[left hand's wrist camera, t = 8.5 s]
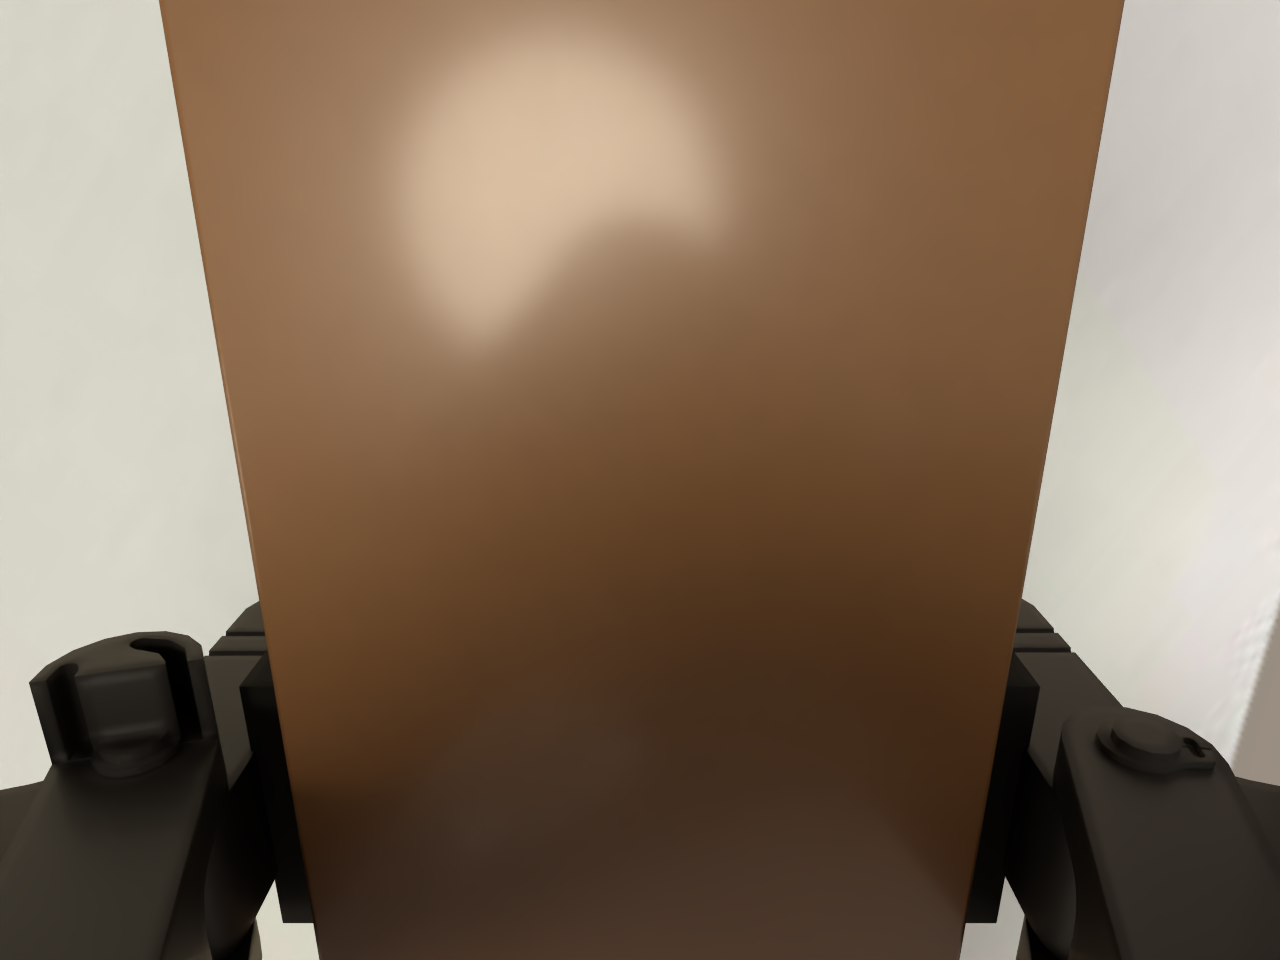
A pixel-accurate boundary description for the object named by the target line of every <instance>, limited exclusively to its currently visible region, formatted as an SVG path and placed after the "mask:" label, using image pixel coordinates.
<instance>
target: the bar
mask: <svg viewBox="0 0 1280 960" xmlns="http://www.w3.org/2000/svg"><path fill="white" fill-rule="evenodd" d="M159 4H160V10H161V16H162V22H163V27H164V33H165V39H166V45H167V51H168V57H169V63H170V69H171V75H172V81H173V87H174V93H175V99H176V105H177V111H178V117H179V123H180V129H181V135H182V141H183V147H184V153H185V159H186V165H187V171H188V177H189V183H190V189H191V195H192V201H193V207H194V213H195V219H196V225H197V231H198V237H199V243H200V249H201V255H202V260H203V266H204V272H205V278H206V284H207V290H208V296H209V302H210V308H211V314H212V320H213V326H214V332H215V338H216V344H217V350H218V356H219V362H220V368H221V374H222V380H223V386H224V392H225V398H226V404H227V410H228V416H229V422H230V428H231V434H232V440H233V446H234V452H235V458H236V464H237V470H238V476H239V482H240V488H241V493H242V499H243V505H244V511H245V517H246V523H247V529H248V535H249V541H250V547H251V553H252V559H253V565H254V571H255V577H256V583H257V589H258V595H259V601H260V607H261V613H262V619H263V625H264V631H265V637H266V643H267V649H268V655H269V661H270V667H271V673H272V679H273V685H274V691H275V697H276V703H277V709H278V715H279V721H280V726H281V732H282V738H283V744H284V750H285V756H286V762H287V768H288V774H289V780H290V786H291V792H292V798H293V804H294V810H295V816H296V822H297V828H298V834H299V840H300V846H301V852H302V858H303V864H304V870H305V876H306V882H307V888H308V894H309V900H310V906H311V912H312V918H313V924H314V930H315V936H316V942H317V948H318V954H319V959H320V960H959V959H960V953H961V947H962V941H963V935H964V930H965V924H966V918H967V912H968V906H969V901H970V895H971V889H972V883H973V877H974V872H975V866H976V860H977V854H978V848H979V843H980V837H981V831H982V825H983V819H984V813H985V808H986V802H987V796H988V790H989V784H990V779H991V773H992V767H993V761H994V755H995V750H996V744H997V738H998V732H999V726H1000V721H1001V715H1002V709H1003V703H1004V697H1005V692H1006V686H1007V680H1008V674H1009V668H1010V663H1011V657H1012V651H1013V645H1014V639H1015V633H1016V628H1017V622H1018V616H1019V610H1020V604H1021V599H1022V593H1023V587H1024V581H1025V575H1026V570H1027V564H1028V558H1029V552H1030V546H1031V541H1032V535H1033V529H1034V523H1035V517H1036V512H1037V506H1038V500H1039V494H1040V488H1041V482H1042V477H1043V471H1044V465H1045V459H1046V453H1047V448H1048V442H1049V436H1050V430H1051V424H1052V419H1053V413H1054V407H1055V401H1056V395H1057V390H1058V384H1059V378H1060V372H1061V366H1062V361H1063V355H1064V349H1065V343H1066V337H1067V331H1068V326H1069V320H1070V314H1071V308H1072V302H1073V297H1074V291H1075V285H1076V279H1077V273H1078V268H1079V262H1080V256H1081V250H1082V244H1083V239H1084V233H1085V227H1086V221H1087V215H1088V210H1089V204H1090V198H1091V192H1092V186H1093V180H1094V175H1095V169H1096V163H1097V157H1098V151H1099V146H1100V140H1101V134H1102V128H1103V122H1104V117H1105V111H1106V105H1107V99H1108V93H1109V88H1110V82H1111V76H1112V70H1113V64H1114V59H1115V53H1116V47H1117V41H1118V35H1119V30H1120V24H1121V18H1122V12H1123V6H1124V0H159Z"/></svg>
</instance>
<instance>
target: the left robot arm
mask: <svg viewBox="0 0 1280 960" xmlns="http://www.w3.org/2000/svg"><path fill="white" fill-rule="evenodd" d="M29 685H30V688H31V692H32V695H33V699H34V702H35V706H36V709H37V713H38V716H39V720H40V723H41V727H42V730H43V734H44V737H45V741H46V744H47V748H48V751H49V755H50V758H51V762H52V766H51V768H50V770H49V771H48V773H47V775H46V777H45V779H44V781H41V782H37V783H33V784H29V785H24V786H19V787H14V788H9V789H4V790H0V960H262V951H261V943H260V936H259V931H258V926H257V921H256V915H257V913H258V911H259V909H260V907H261V905H262V903H263V902H264V900H265V898H266V896H267V894H268V892H269V890H270V888H271V886H272V884H273V882H274V880H275V883H276V888H277V893H278V899H279V904H280V909H281V915H282V920H283V923H313V918H312V912H311V906H310V900H309V894H308V888H307V882H306V876H305V870H304V864H303V858H302V852H301V846H300V840H299V834H298V828H297V822H296V816H295V810H294V804H293V798H292V792H291V786H290V780H289V774H288V768H287V762H286V756H285V750H284V744H283V738H282V732H281V726H280V721H279V715H278V709H277V703H276V697H275V691H274V685H273V679H272V673H271V667H270V661H269V655H268V649H267V643H266V637H265V631H264V625H263V619H262V613H261V607H260V601H258V602H257V603H255V604H253V605H252V606H250V607H248V608H247V609H245V611H244V612H243V613H242V614H241V615H240V616H239V617H238V619H237V620H236V621H235V622H234V623H233V624H232V625H231V627H230V628H229V629H228V630H227V631H226V636H222V637H221V638H220V639H219V640H218V641H217V643H216V644H215V645H214V646H213V647H212V648H211V649H210V651H209V656H203V651H202V647H201V645H200V644H199V643H198V642H196V641H195V640H194V639H192V638H191V637H190V636H188V635H183V634H177V633H172V632H167V631H160V632H137V633H132V634H127V635H122V636H117V637H112V638H107V639H103V640H101V641H98V642H95V643H92V644H90V645H87V646H84V647H81V648H79V649H76V650H73V651H71V652H69V653H68V654H66V655H64V656H62V657H61V658H59V659H57V660H55V661H54V662H52V663H50V664H48V665H47V666H45V667H44V668H43V669H42V670H41V671H40V672H39V673H38V674H37V675H36V676H35V677H34V678H33V679H32V680H31V681H30V682H29ZM1005 877H1006V879H1007V881H1008V882H1009V884H1010V886H1011V888H1012V890H1013V892H1014V894H1015V896H1016V898H1017V900H1018V902H1019V904H1020V906H1021V908H1022V910H1023V912H1024V914H1025V916H1024V921H1023V926H1022V931H1021V936H1020V941H1019V946H1018V951H1017V956H1016V960H1280V786H1276V785H1271V784H1266V783H1261V782H1256V781H1251V780H1247V779H1243V778H1239V777H1235V775H1234V774H1233V772H1232V770H1231V768H1230V766H1229V764H1228V763H1227V762H1226V760H1225V759H1224V758H1223V757H1222V756H1221V754H1220V753H1219V752H1218V751H1217V750H1216V749H1215V747H1214V746H1213V745H1212V744H1210V743H1209V742H1208V741H1206V740H1205V739H1203V738H1202V737H1200V736H1199V735H1197V734H1196V733H1194V732H1193V731H1191V730H1190V729H1188V728H1186V727H1184V726H1182V725H1179V724H1177V723H1175V722H1172V721H1170V720H1168V719H1165V718H1163V717H1161V716H1158V715H1155V714H1151V713H1147V712H1143V711H1139V710H1135V709H1130V708H1126V707H1123V706H1122V705H1121V704H1120V703H1119V702H1118V701H1117V700H1116V698H1115V697H1114V696H1113V695H1112V694H1111V693H1110V692H1109V690H1108V689H1107V688H1106V687H1105V686H1104V685H1103V684H1102V683H1101V681H1100V680H1099V679H1098V678H1097V677H1096V676H1095V675H1094V673H1093V672H1092V671H1091V670H1090V669H1089V668H1088V667H1087V666H1086V664H1085V663H1084V662H1083V661H1082V660H1081V659H1080V658H1079V657H1078V655H1077V654H1076V653H1071V647H1070V646H1069V645H1068V644H1067V643H1066V642H1065V641H1064V640H1063V638H1062V637H1061V636H1060V635H1059V634H1058V633H1054V628H1053V627H1052V626H1051V625H1050V624H1049V623H1048V621H1047V620H1046V619H1045V618H1044V617H1043V616H1042V615H1041V613H1040V612H1039V611H1038V610H1037V609H1036V608H1035V607H1034V606H1033V605H1032V604H1030V603H1028V602H1026V601H1025V600H1023V599H1021V604H1020V610H1019V616H1018V622H1017V628H1016V633H1015V639H1014V645H1013V651H1012V657H1011V663H1010V668H1009V674H1008V680H1007V686H1006V692H1005V697H1004V703H1003V709H1002V715H1001V721H1000V726H999V732H998V738H997V744H996V750H995V755H994V761H993V767H992V773H991V779H990V784H989V790H988V796H987V802H986V808H985V813H984V819H983V825H982V831H981V837H980V843H979V848H978V854H977V860H976V866H975V872H974V877H973V883H972V889H971V895H970V901H969V906H968V912H967V918H966V923H996V922H997V917H998V911H999V906H1000V901H1001V895H1002V890H1003V885H1004V879H1005Z"/></svg>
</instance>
